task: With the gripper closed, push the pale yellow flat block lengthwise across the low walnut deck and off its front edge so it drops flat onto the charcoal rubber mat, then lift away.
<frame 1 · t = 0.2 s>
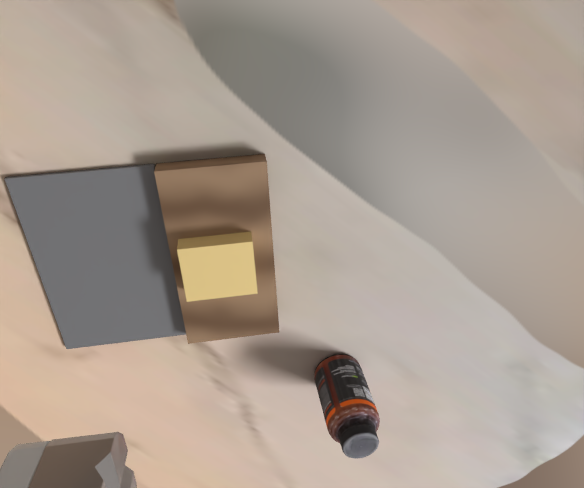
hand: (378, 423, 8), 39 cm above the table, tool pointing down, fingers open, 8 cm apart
mat: (107, 263, 50), on the table
supplement bottle: (336, 369, 62), on the table
pale yellow flat block: (218, 261, 49), point 2 cm above the table, touching deck
deck: (223, 250, 51), on the table
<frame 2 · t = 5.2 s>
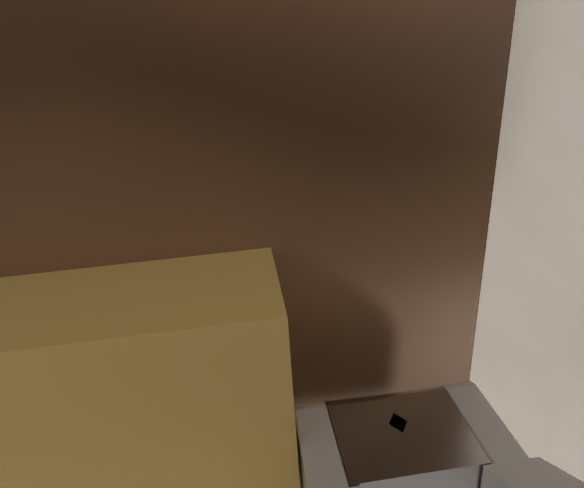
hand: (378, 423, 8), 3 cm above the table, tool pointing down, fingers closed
pale yellow flat block: (82, 428, 8), point 2 cm above the table, touching gripper
deck: (202, 342, 10), on the table
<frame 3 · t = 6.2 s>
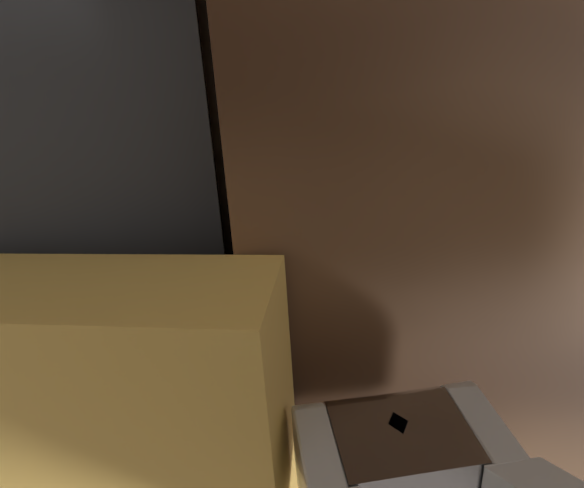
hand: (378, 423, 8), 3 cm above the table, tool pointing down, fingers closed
pale yellow flat block: (109, 398, 9), point 1 cm above the table, tilted 15°, touching gripper, mat
deck: (466, 306, 11), on the table
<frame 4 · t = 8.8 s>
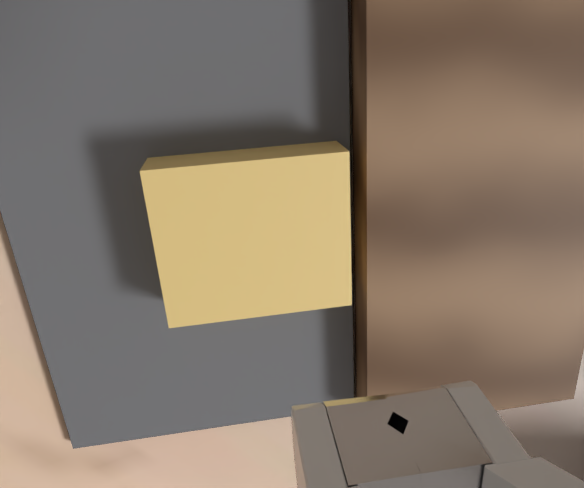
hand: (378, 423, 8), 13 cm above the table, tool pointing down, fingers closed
mat: (187, 222, 19), on the table
pale yellow flat block: (251, 224, 19), resting on mat
deck: (469, 193, 21), on the table
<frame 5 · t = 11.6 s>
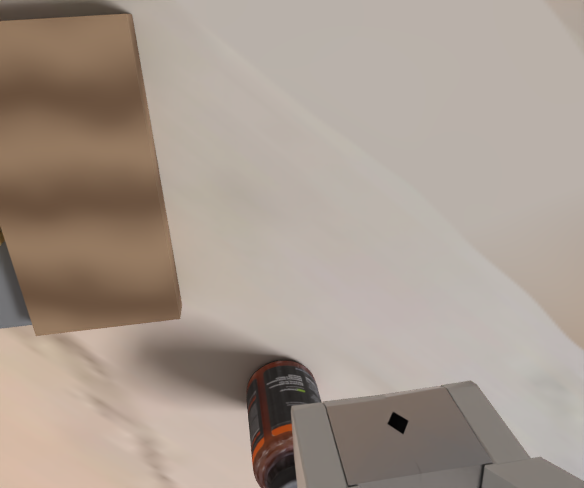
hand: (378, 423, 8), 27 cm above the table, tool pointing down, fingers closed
supplement bottle: (280, 384, 42), on the table
deck: (83, 184, 33), on the table
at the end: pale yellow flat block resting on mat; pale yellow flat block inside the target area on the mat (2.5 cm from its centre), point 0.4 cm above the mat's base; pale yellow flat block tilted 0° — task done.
